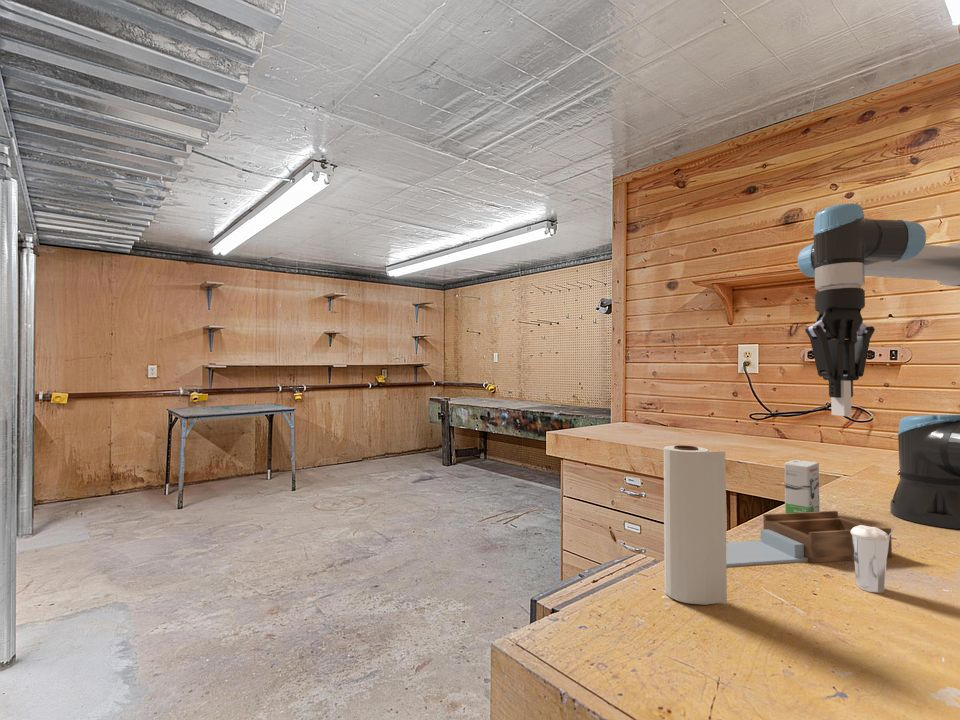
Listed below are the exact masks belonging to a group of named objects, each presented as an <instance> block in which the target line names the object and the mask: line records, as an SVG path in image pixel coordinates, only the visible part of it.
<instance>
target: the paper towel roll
mask: <svg viewBox="0 0 960 720" xmlns="http://www.w3.org/2000/svg"><path fill="white" fill-rule="evenodd" d="M726 475H727V474H726V451H710V450H709V449H708V448H705V447H701V446H695V445H694V446H693V445H683V444H682V445H666V446H663V527H664V528H663V535H664V537H663V542H664V544H663V547H664V548H663V550H664V553H663V554H664V555H663V556H664V557H663V558H664V560H663V561H664V591H665V594H666V595H667V596H668V597H669V598H671V599H673V600H676V601H678V602H680V603H684V604H691V605H703V606H704V605H705V606H708V605H713V604H726V605H727V603H728V597H727V596H728V593H727V589H728V588H727V587H728V585H727V580H728V579H727V577H728V576H727V567H726V542H727V499H726V498H727V495H726V493H727V492H726V491H727V490H726V489H727V487H726V480H727V479H726V478H727V477H726Z"/></svg>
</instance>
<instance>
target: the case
mask: <svg viewBox="0 0 960 720" xmlns="http://www.w3.org/2000/svg"><path fill="white" fill-rule="evenodd" d="M762 516H763V517H762V519H763V530H767V529H769V530H772V531H774V532H776V533H779V534H781V535H783V536H786V537H788V538H790V539H793V540H795V541H797V542H800V543H802V544H804V557H806V558H808V561H807V562H809V563H812V564H814V563H826V562H827V563H829V562H841V561H843V562H845V561H854V554H853V547H852V540H851V532H850V531H851V529H852V528H853V527H855V526H859V525H863V524H862V523H858V522H856V521H852V520H849V519H846V518H843V517H840V516H839V511H837V510H828V511H819V512H802V513H785V512H784V513H783V512H782V513H765V514H763V515H762ZM877 528H878V529H880V530H882V531H884V532H886V533H887V534H888V535H889V534H890V532H891V531H892V528H890V527H877ZM892 548H893V547H892V534H891V535H890V537H889V546H888V555H887V559H888V558H892V557H893V555H892V552H893V550H892Z"/></svg>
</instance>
